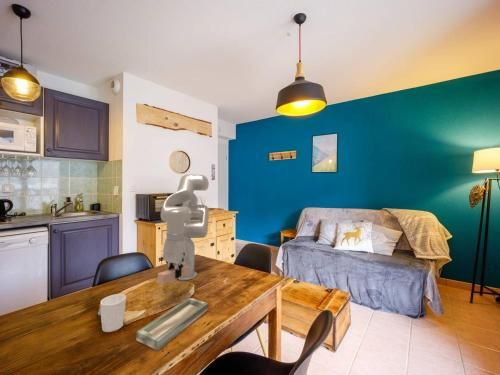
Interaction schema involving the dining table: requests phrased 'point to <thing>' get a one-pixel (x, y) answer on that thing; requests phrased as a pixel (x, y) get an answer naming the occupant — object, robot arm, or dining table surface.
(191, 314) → the glass channel tray
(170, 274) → the clay strip
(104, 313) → the white cup
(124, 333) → the dining table surface
